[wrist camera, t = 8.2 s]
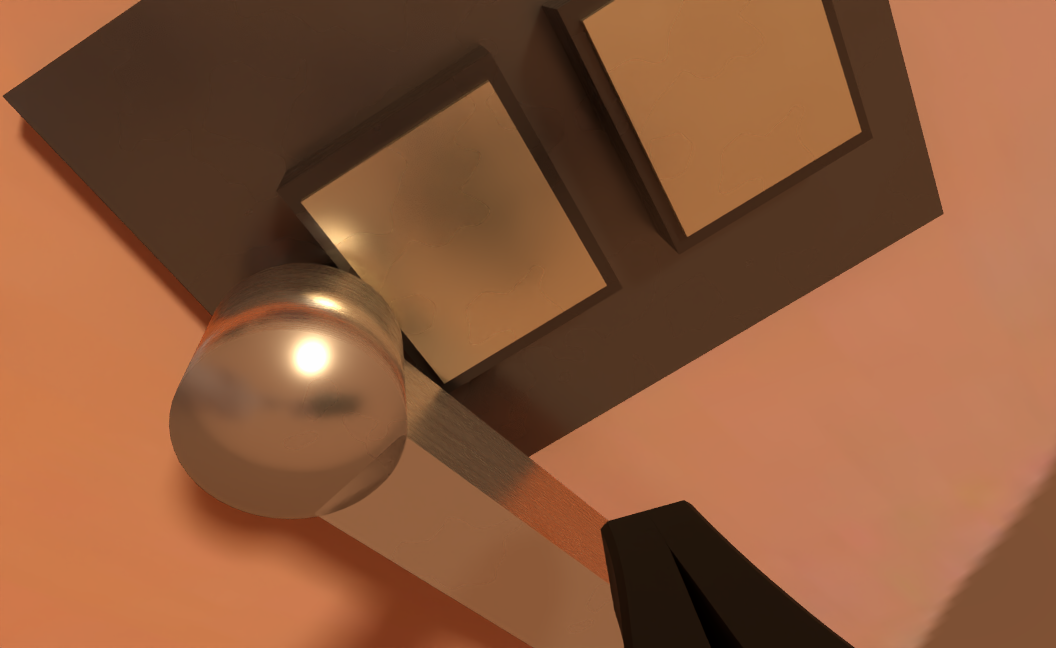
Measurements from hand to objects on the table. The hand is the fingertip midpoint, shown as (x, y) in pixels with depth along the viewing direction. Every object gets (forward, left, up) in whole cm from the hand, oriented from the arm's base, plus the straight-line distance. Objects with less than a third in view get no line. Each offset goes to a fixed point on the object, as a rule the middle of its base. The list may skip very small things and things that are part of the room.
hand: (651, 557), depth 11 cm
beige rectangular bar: (-3, -3, -6) cm, 8 cm away
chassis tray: (+2, +3, -9) cm, 10 cm away
